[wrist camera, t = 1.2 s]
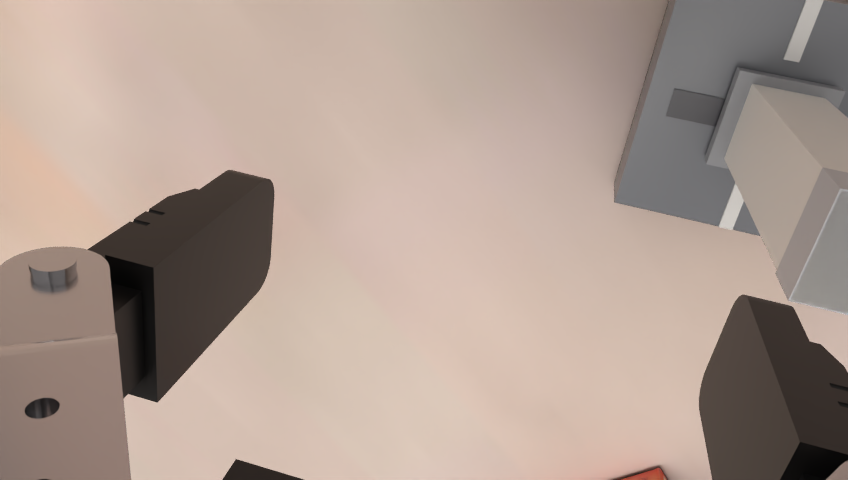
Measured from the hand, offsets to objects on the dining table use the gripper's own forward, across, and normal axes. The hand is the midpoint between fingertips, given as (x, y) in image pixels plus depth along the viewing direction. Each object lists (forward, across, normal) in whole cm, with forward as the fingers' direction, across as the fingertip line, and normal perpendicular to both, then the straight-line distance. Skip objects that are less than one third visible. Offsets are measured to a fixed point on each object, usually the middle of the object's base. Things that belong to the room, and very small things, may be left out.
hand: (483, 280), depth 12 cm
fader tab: (+20, -9, +1) cm, 22 cm away
